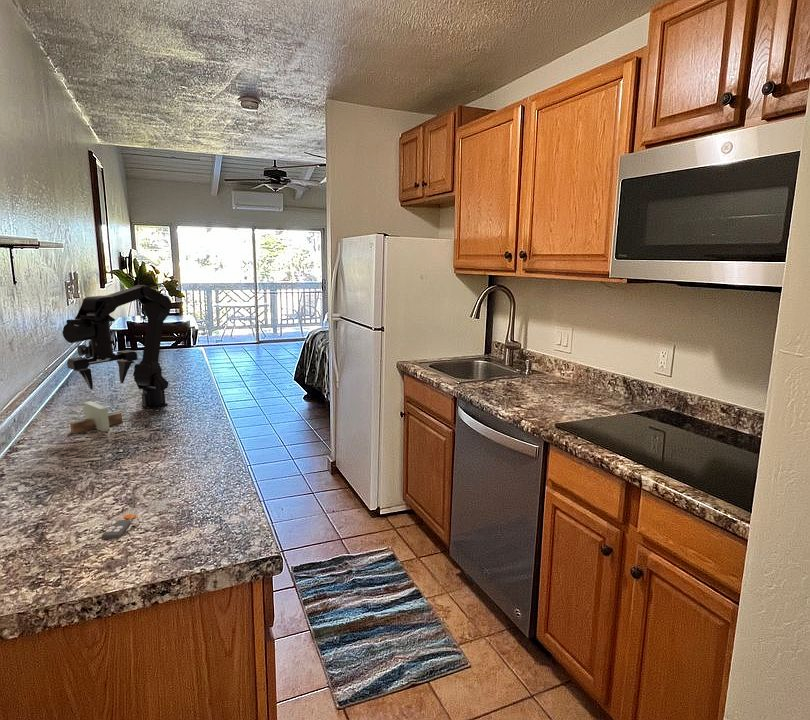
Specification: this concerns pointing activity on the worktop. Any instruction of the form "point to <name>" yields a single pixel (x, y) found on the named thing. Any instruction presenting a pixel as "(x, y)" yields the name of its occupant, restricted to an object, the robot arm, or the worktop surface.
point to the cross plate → (97, 415)
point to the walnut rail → (88, 423)
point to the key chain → (118, 527)
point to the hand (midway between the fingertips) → (106, 386)
